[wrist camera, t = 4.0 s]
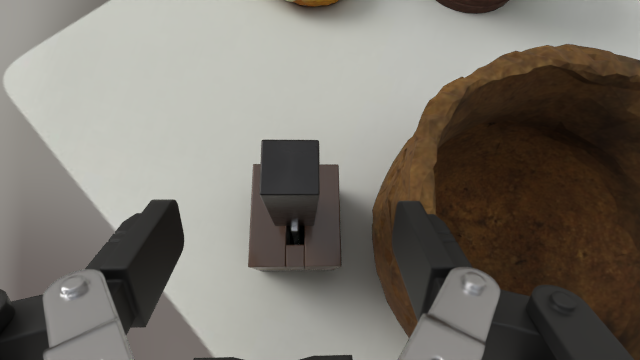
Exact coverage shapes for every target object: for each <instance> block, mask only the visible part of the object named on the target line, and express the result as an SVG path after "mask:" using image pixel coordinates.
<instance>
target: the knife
mask: <svg viewBox="0 0 640 360" xmlns="http://www.w3.org/2000/svg"><path fill="white" fill-rule="evenodd" d="M259 194H260V196H261V198H262V200H263V202H264V204H265V206H266V208H267V211H268V213H269V215H270V217H271V219H272V221H273V223H274V225H275V226H291V231H292V236H293V240H294V244H295V245H299V243H300V226H314V224H315V218H316V212H317V207H318V201H319V195H320V173H319V141H318V140H262V143H261V167H260V191H259Z"/></svg>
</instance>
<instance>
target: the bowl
mask: <svg viewBox="0 0 640 360" xmlns="http://www.w3.org/2000/svg"><path fill="white" fill-rule="evenodd" d="M398 201H420V202H421V204H422V205H423V207H424V209H425V211H426V212H427V214H435V215H436V216H437V217H439V218H440V219H441V220H442V221H444V222H445V223H446V225H447V227H448V228H449V230H450V231H451V234H452V235H453V236H454V238H455V239H456V242H457V243H458V244H459V246H460V248H461V249H462V251H463V252H464V254H465V256H466V257H467V259H468V260H469V262H470V264H471V265H472V267H473V268H475V269H478V270H481V271H483V272H485V273H486V274H488V275H489V276H491V277H492V278H493V279H494V280H495V281H496V282H497V284H498V285H499V288H500V289H502V290H505V291H509V292H514V293H518V294H523V295H527V296H531V294H532V291H533V290H534V288H535V287H537V286H539V285H554V286H558V287H561V288H564V289H566V290H569V291H571V292H572V293H574V294H576V295H577V296H579V297H580V298H581V299H583V300H584V301H585V302H586V303H587V304H588V305H589V307H590V308H591V309H592V310H593V311H594V312H595V314H596V315H597V316H598V317H599V318H600V320H601V321H602V322H603V323H604V324H605V325H606V327H607V328H608V329H609V330H610V331H611V333H612V334H613V335H614V336H615V337H616V338H617V340H618V341H619V342H620V343H621V344H622V345H623V347H624V348H625V349H626V350H627V351H628V353H629V354H630V355H631V356H632V357H633V358H634V360H640V60H637V59H633V58H629V57H626V56H621V55H616V54H614V53H612V52H610V51H605V50H600V49H596V48H589V47H582V46H577V45H570V44H565V45H561V46H557V47H553V46H549V45H546V46H541V47H536V48H532V49H528V50H525V51H523V52H518V51H514V52H511V53H508V54H505V55H502V56H500V57H499V58H497V59H496V60H494V61H493V62H491V63H490V64H488V65H486V66H484V67H481V68H478V69H477V70H476V71H475V72H473V73H472V74H471V75H469V76H467V77H465V78H464V77H461V78H458V79H456V80H454V81H452V82H451V83H449V84H447V85H445V86H443V88H442V89H441V90H440V91H439V93H438V94H437V95H436V96H435V97H434V98H432V99H431V100H429V102H428V104H427V106H426V107H425V109H424V111H423V114H422V116H421V119H420V122H419V124H418V127H417V130H416V132H415V133H414V135H413V137H411V138H410V139H409V140H408V141H407V143H406V144H405V145H404V147H403V148H402V150H401V151H400V153H399V154H398V156H397V157H396V158H395V160H394V162H393V164H392V166H391V167H390V169H389V171H388V173H387V175H386V177H385V179H384V181H383V183H382V186H381V188H380V191H379V193H378V196H377V198H376V201H375V204H374V207H373V209H372V211H373V223H372V240H373V248H374V257H375V264H376V270H377V274H378V276H379V279H380V281H381V284H382V287H383V290H384V293H385V297H386V300H387V302H388V304H389V306H390V308H391V309H392V311H393V313H394V314H395V316H396V319H397V320H398V322H399V323H400V325H401V326H402V328H403V329H404V331H405V332H406V334H407V335H408V337H409V338H410V336H411V335H412V333H413V331H414V329H415V327H416V325H417V323H418V322H417V319H416V316H415V313H414V310H413V307H412V304H411V301H410V298H409V296H408V293H407V290H406V287H405V284H404V281H403V278H402V275H401V272H400V270H399V267H398V264H397V261H396V258H395V255H394V252H393V248H392V232H393V226H394V219H395V213H396V207H397V203H398Z"/></svg>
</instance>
